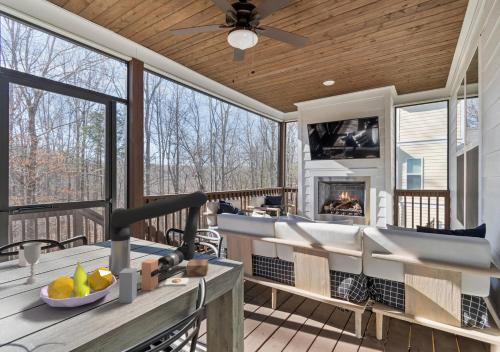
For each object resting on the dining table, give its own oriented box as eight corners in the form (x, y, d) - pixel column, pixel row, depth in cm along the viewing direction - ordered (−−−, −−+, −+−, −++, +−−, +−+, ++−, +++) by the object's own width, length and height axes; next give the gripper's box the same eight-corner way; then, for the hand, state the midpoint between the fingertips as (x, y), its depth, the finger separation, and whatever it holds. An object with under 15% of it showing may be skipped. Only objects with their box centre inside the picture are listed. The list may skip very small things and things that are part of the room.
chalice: (20, 286, 123) (20, 246, 123) (24, 281, 129) (24, 243, 129) (40, 283, 127) (40, 244, 127) (43, 278, 133) (43, 241, 133)
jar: (22, 262, 156) (22, 241, 156) (40, 261, 159) (40, 240, 159) (16, 267, 148) (16, 245, 148) (35, 265, 151) (35, 244, 151)
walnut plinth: (186, 275, 137) (186, 265, 137) (189, 268, 147) (189, 259, 147) (206, 275, 138) (206, 265, 138) (208, 268, 148) (208, 259, 148)
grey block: (119, 303, 107) (119, 272, 107) (124, 297, 112) (124, 268, 112) (132, 302, 108) (132, 272, 108) (136, 297, 113) (136, 268, 113)
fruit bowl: (110, 309, 102) (110, 279, 102) (24, 320, 95) (24, 287, 95) (122, 281, 129) (122, 257, 129) (56, 288, 121) (56, 262, 121)
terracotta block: (141, 289, 121) (141, 262, 121) (148, 284, 125) (148, 258, 125) (151, 290, 119) (151, 263, 119) (158, 286, 124) (158, 259, 124)
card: (164, 285, 124) (164, 283, 124) (167, 280, 131) (167, 278, 131) (186, 285, 125) (186, 283, 125) (188, 279, 132) (188, 277, 132)
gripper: (155, 253, 138) (132, 264, 122) (180, 256, 134) (160, 267, 118) (155, 268, 138) (132, 280, 122) (180, 271, 134) (160, 284, 118)
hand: (146, 274), depth 120 cm, fingers closed on terracotta block, 5 cm apart
